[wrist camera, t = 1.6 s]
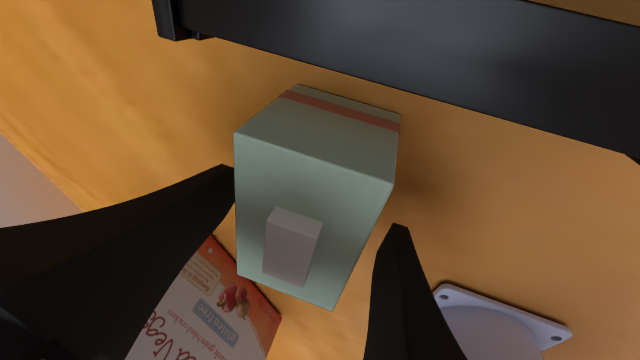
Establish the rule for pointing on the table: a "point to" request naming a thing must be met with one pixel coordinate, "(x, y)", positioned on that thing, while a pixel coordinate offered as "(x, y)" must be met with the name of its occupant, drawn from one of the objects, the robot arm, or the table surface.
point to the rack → (451, 54)
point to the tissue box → (310, 190)
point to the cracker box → (208, 314)
